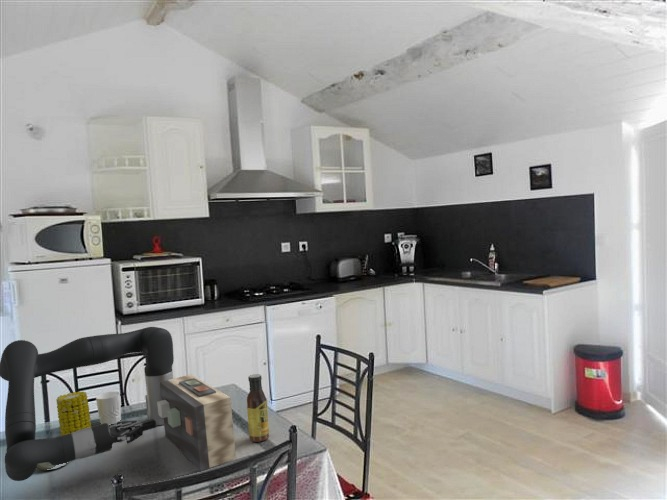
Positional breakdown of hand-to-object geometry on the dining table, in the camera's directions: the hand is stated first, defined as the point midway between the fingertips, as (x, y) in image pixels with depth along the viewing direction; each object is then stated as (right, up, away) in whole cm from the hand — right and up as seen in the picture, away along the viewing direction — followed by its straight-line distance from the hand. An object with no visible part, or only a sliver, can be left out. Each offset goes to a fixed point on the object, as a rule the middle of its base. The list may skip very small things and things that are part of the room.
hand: (155, 423), depth 151 cm
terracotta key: (+12, -1, -4) cm, 13 cm away
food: (-35, -12, +24) cm, 45 cm away
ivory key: (-1, -1, +11) cm, 12 cm away
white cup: (-28, -11, +34) cm, 45 cm away
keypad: (+11, -10, +8) cm, 16 cm away
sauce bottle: (+29, -8, +10) cm, 32 cm away
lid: (-31, -14, +3) cm, 34 cm away
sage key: (+5, -2, +3) cm, 6 cm away
